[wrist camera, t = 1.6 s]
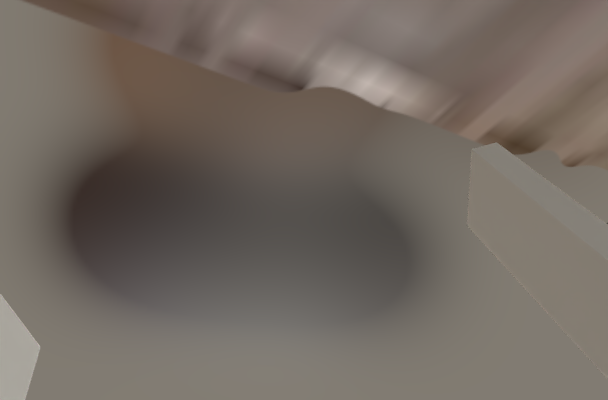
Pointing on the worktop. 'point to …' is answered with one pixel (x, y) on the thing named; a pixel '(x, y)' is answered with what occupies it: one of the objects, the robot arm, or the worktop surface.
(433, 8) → the worktop surface
